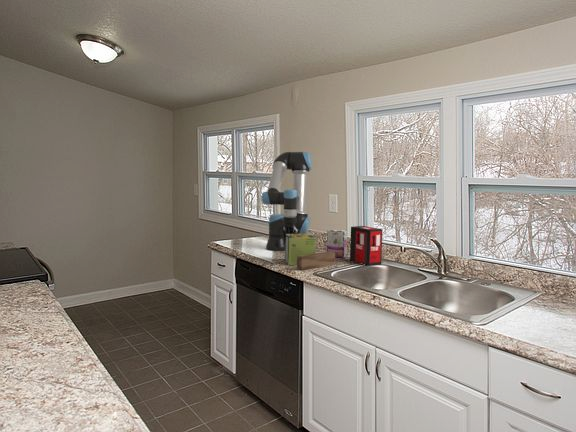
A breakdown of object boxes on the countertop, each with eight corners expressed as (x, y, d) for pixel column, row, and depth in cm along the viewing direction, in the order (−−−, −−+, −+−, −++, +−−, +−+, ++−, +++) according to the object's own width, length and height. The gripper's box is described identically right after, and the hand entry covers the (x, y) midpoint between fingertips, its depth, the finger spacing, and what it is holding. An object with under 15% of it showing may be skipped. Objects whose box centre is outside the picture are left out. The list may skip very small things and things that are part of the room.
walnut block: (296, 269, 226) (296, 255, 226) (329, 263, 241) (329, 251, 241) (301, 270, 223) (301, 257, 223) (334, 264, 238) (335, 252, 238)
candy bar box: (346, 257, 262) (347, 230, 260) (343, 258, 257) (344, 231, 256) (329, 255, 267) (330, 229, 266) (326, 256, 263) (327, 229, 261)
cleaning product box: (349, 260, 251) (350, 226, 249) (361, 259, 255) (362, 225, 253) (368, 266, 237) (370, 230, 235) (381, 264, 241) (382, 229, 239)
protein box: (315, 264, 238) (316, 237, 235) (288, 265, 235) (288, 237, 232) (310, 259, 248) (311, 233, 246) (284, 260, 245) (285, 233, 243)
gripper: (277, 215, 251) (277, 255, 253) (292, 217, 240) (291, 259, 243) (287, 215, 255) (287, 254, 258) (302, 217, 245) (301, 258, 248)
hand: (289, 256), depth 250 cm, fingers closed
